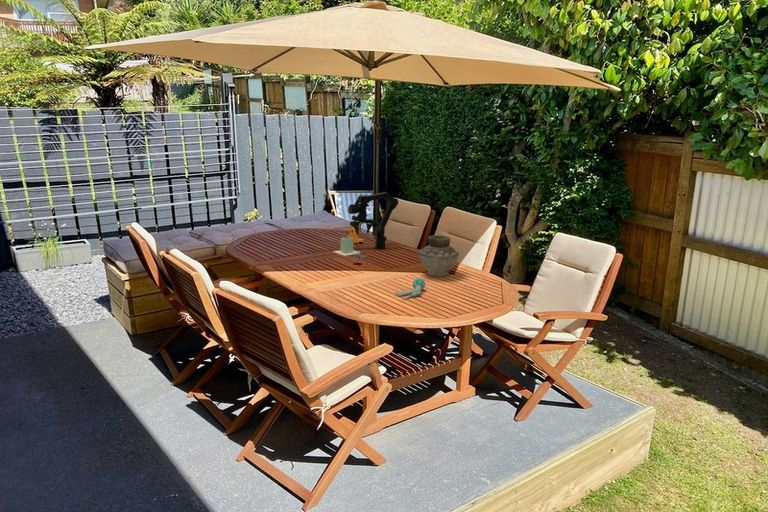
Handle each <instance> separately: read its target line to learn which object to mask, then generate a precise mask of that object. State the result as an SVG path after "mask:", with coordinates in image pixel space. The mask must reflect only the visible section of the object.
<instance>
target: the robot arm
mask: <svg viewBox="0 0 768 512" xmlns="http://www.w3.org/2000/svg"><path fill="white" fill-rule="evenodd" d="M383 199H384V200H385V201H386V204H385V205H386V206H385V207H386V208H385V210H384V212H383V215H382V217H381V219H380V222H379V223H378V226H374V224H376V221H375V219H373V218H367V217H368V215H369V214H367V210H368V209H367V207H370V205H369V204H368V203H371V202H372V201H373V202H374V201H377V200H383ZM398 204H399V199H398V198H395V197H393V196H392V195H390V194H389V193H388V192H386V191H383V192H379V193H374V194H370V195H369V194H368V195H367V194H360V195H358V196H357V199H356V201H355V202H354V204H353V203H352V204H349V206H348V208H347V211H348V214H349V215H352V216H351V220H352V221H350V222H349V226H351V228H354V229H355V231H356V234H357V235H358V236H359V234H360V225H364V224H365V225H366V234H369V233H370V230H371V228H372V226H374V228H373V230H372V236H373V237H374V239H375V243H374V245H375V246H374V248H375V249H377V250H384V248H385V249H387V247H386V241H387V239H388V238H387V237H386V236H385V229H386V226H387V224H388V221H389V219H390V217H391V214H392V212H393V210H395V209H396V208H397V206H398ZM354 214H357V215H354ZM358 233H359V234H358Z"/></svg>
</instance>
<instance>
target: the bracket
mask: <svg viewBox="0 0 768 512" xmlns="http://www.w3.org/2000/svg"><path fill="white" fill-rule="evenodd" d="M359 234H360V232H359V233H358V235H357V234H356V231H355V229H354V227H351V228H350V229H349V233H348V237H350V238H353V242H354V243H357V244H360V243H359V242H363V243H364V239H363V238H359V237H358V236H359Z"/></svg>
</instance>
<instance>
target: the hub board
mask: <svg viewBox="0 0 768 512" xmlns="http://www.w3.org/2000/svg"><path fill="white" fill-rule="evenodd" d="M357 251H358V250H355V249H353V253H347V254H345V253H342V252H341V249H340V250H334V251H333V253H332V254H334V253H336V254H337V255H338V254H339V255H341V256H349V255H350V256H352V255H354V254H357Z"/></svg>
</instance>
